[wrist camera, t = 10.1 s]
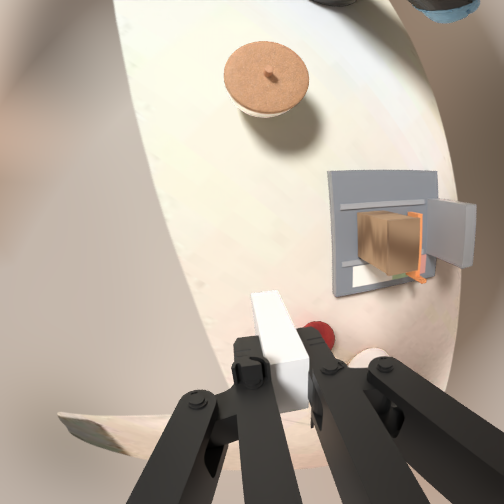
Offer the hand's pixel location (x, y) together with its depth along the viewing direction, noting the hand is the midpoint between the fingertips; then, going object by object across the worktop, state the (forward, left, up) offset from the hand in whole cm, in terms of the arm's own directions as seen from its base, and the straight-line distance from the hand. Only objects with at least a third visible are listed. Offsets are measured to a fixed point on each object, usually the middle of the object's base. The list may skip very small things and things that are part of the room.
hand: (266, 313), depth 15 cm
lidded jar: (-21, +5, -27) cm, 34 cm away
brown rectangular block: (+2, +20, -25) cm, 32 cm away
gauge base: (+2, +25, -26) cm, 36 cm away
